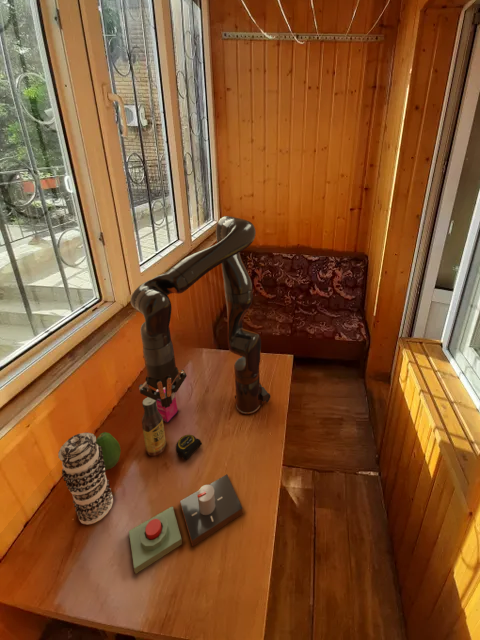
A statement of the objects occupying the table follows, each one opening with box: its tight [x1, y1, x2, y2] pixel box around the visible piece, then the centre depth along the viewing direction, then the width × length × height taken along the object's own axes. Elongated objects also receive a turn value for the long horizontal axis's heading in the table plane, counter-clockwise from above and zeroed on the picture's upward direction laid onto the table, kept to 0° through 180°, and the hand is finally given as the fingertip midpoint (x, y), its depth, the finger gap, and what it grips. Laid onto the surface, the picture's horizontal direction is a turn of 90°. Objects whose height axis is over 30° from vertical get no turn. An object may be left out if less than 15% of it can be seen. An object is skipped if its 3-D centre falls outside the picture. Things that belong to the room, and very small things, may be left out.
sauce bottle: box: [141, 396, 167, 457], centre depth 101 cm, size 6×6×20 cm
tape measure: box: [175, 434, 203, 461], centre depth 103 cm, size 7×7×4 cm
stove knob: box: [197, 484, 216, 515], centre depth 84 cm, size 4×4×6 cm
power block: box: [128, 505, 183, 575], centre depth 79 cm, size 11×9×4 cm
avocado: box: [96, 431, 122, 471], centre depth 96 cm, size 8×8×12 cm
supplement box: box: [155, 387, 179, 424], centre depth 115 cm, size 6×6×12 cm
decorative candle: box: [57, 432, 114, 525], centre depth 83 cm, size 9×9×25 cm
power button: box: [145, 519, 162, 540], centre depth 78 cm, size 4×4×2 cm
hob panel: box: [179, 473, 244, 548], centre depth 86 cm, size 14×11×3 cm
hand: (167, 405), depth 90 cm, fingers closed
